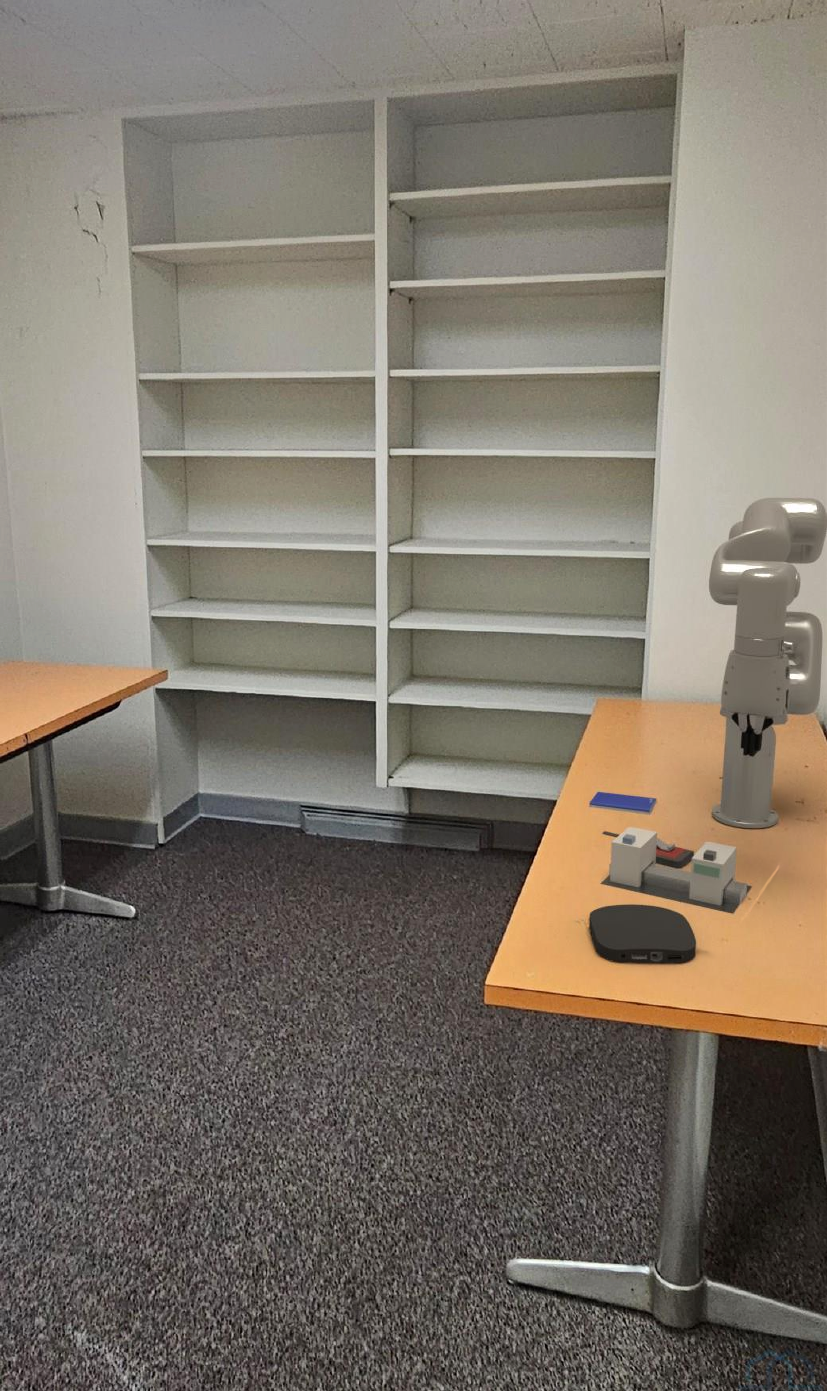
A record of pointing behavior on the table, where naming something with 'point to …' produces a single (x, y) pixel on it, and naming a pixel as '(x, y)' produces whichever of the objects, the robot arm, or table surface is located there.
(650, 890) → the rail plate
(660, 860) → the walkie-talkie
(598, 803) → the hard drive
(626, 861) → the mounted module
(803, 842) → the table surface
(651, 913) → the media streaming box
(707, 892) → the block
